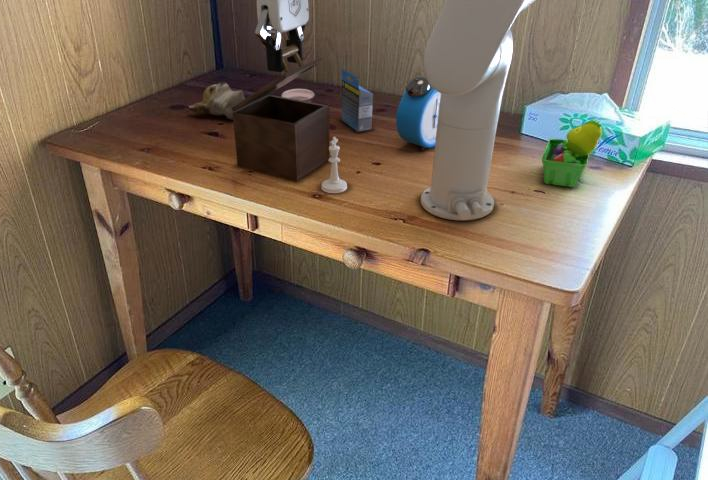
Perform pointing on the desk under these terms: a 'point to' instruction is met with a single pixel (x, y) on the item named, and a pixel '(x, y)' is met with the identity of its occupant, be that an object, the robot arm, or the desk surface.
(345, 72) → the blue cardboard box
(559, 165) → the fruit basket
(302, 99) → the teacup
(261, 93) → the lid
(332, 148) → the chess piece
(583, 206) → the desk surface
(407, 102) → the alarm clock
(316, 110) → the chest
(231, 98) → the ceramic sculpture
